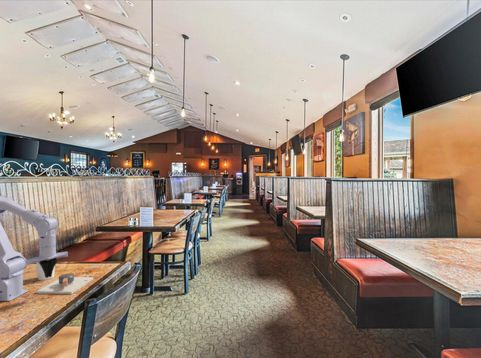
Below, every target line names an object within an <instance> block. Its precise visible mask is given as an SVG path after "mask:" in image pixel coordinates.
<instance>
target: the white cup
mask: <svg viewBox="0 0 481 358" xmlns="http://www.w3.org/2000/svg"><path fill="white" fill-rule="evenodd" d="M35 264H36V273H37V280H38V281H47V280H50V279H53V278H54V277H55V273H56V272H55V271H56V265H55V266H54V269H53V271H52V276H51V277H49V276H48V278H46V277H45V274H44V271H43V269H42V267H41V265H40V264H39V262H38V263H35Z"/></svg>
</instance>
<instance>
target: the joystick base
mask: <svg viewBox="0 0 481 358" xmlns="http://www.w3.org/2000/svg"><path fill="white" fill-rule="evenodd" d="M93 280H94V277H93V276H86V277H85V276H83V277H82V276H74V281H72V282H70V283H68V284H67V287H63V284H60V283H59V278H57V279H56V280H53V281H52V282H50V283H48V284H47V285H45V286H43V287H42V288H39V289H38V290H36V292H35V293H36V294H39V295H43V294H44V295H45V294H46V295H47V294H49V295H50V294H51V295H72V294H74V293H75V292H77V291H78V290H80V289H81V288H82V287H84V286H85V285H87V284H88V283H90V282H92V281H93Z"/></svg>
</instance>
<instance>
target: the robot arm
mask: <svg viewBox="0 0 481 358" xmlns="http://www.w3.org/2000/svg"><path fill="white" fill-rule="evenodd" d="M6 212H10V213H12V214H14V215H16V216H19V217H21V220H22V221H23V222H25V223H27V224H29V225H30V226H33V227H34V228H35V230H36V231H37V235H38V238H39V239H38V240H39V246H38V247H39V252H38V253H39V255H38V256H35V257H31V258H27V259H26V257H24V256H23V254H22V253H21V252H18V251H16V250H15V249H14V247H13V245H12V243H11V241H10V239H9V236H8V235H7V233H6V231H5V229H4V226H3V225H2V222H1V221H0V302H11V301H13V300H14V299H16V298H18V297H20V296H22V295H24V294H26V293H28V292H29V289H24V273H25V269H27V267H28V266H29V265H33V264H36V263H38V262H39V264H40V265H41V267H42V269H43V271H44V274H45V277H46V278H48V276H49V277H51V276H52V271H53V269H54V266H55V267H56V264H57V263H58V259H60V258H67V257H69V252H68V251H61V252H57V244H56V243H57V242H56V241H57V237H56V235H57V234H56V232H57V231H56V229H57V228H58V227H59V226H60V224H59V220H58V219H57V218H56V217H55V216H48V215H46V214H43V213H41V212H39V210H38V209H27V208H25V207H24V206H22V205H20V204H18V203H17V202H16V201H13V198H11V197H8V196H7V195H0V217H1V216H2V215H4V213H6Z"/></svg>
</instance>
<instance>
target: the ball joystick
mask: <svg viewBox="0 0 481 358" xmlns="http://www.w3.org/2000/svg"><path fill="white" fill-rule="evenodd" d="M74 277H75V274H74V273H70V272H69V273H64V274H61V275H59V276H58V279H59V283H60V284H63V287H67V284H68V283H70V282H72V281H74Z"/></svg>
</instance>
